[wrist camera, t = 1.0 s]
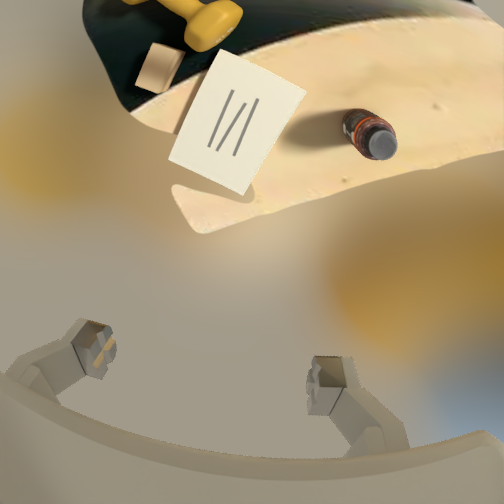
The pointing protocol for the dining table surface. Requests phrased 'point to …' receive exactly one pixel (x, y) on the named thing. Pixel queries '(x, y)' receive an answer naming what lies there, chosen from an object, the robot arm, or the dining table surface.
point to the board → (234, 121)
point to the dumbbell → (203, 20)
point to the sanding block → (159, 68)
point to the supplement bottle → (370, 134)
